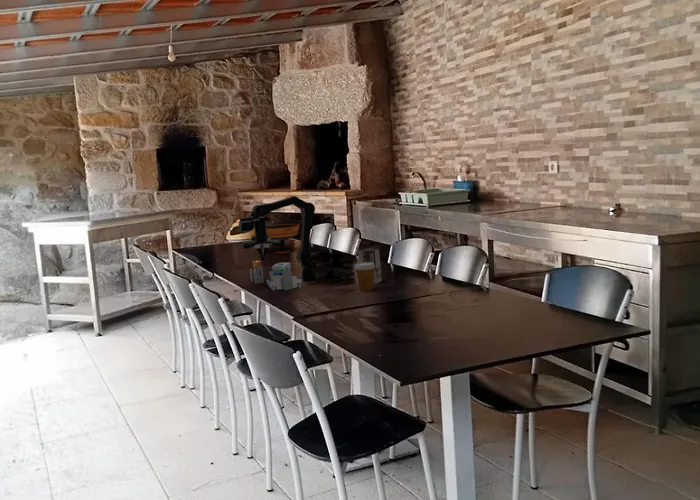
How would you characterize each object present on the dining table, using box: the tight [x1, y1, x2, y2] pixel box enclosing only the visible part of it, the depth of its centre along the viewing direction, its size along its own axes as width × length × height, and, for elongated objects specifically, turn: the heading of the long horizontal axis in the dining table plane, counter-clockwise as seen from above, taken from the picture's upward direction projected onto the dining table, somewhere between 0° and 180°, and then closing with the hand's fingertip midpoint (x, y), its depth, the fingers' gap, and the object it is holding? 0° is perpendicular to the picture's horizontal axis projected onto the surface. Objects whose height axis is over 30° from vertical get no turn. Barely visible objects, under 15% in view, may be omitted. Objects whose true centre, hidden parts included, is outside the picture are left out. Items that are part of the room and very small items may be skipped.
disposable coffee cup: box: [354, 262, 375, 292], centre depth 301 cm, size 10×10×12 cm
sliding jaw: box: [270, 270, 303, 291], centre depth 314 cm, size 15×7×9 cm, turn 106°
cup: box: [266, 223, 302, 254], centre depth 443 cm, size 36×26×18 cm
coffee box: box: [357, 248, 383, 284], centre depth 317 cm, size 9×6×16 cm
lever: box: [252, 259, 263, 275], centre depth 340 cm, size 4×10×4 cm
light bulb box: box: [271, 262, 292, 288], centre depth 325 cm, size 11×7×11 cm, turn 168°
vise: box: [249, 267, 302, 292], centre depth 330 cm, size 20×33×6 cm, turn 16°
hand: (262, 261), depth 326 cm, fingers closed
